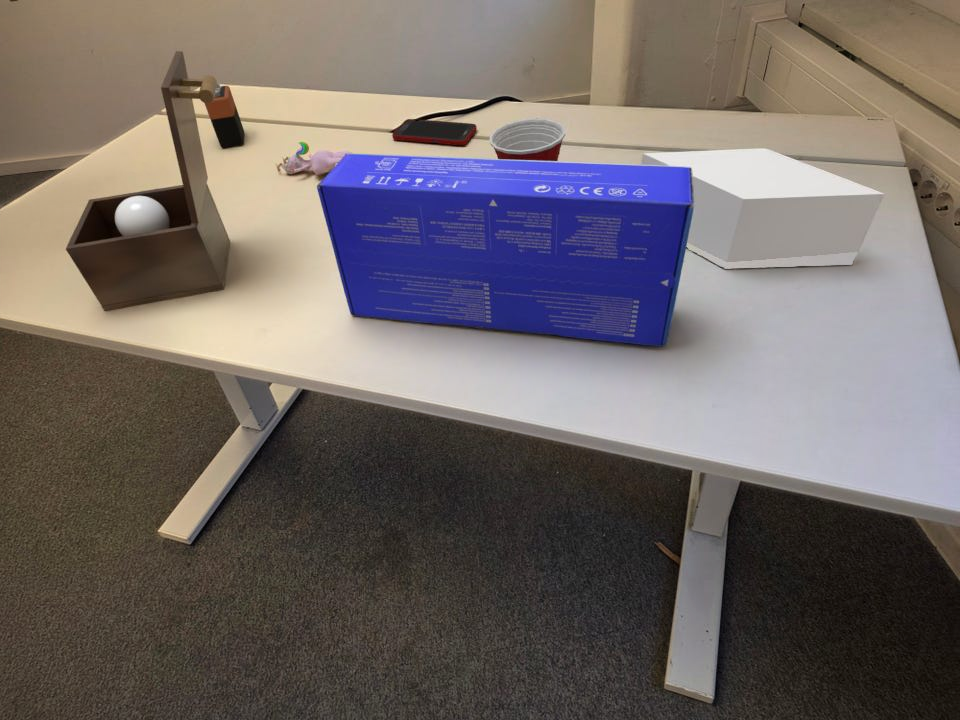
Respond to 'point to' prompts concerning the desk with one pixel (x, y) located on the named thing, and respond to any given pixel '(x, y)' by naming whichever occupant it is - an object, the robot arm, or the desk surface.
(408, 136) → the cell phone
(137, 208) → the lightbulb
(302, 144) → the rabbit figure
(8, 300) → the desk surface
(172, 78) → the chest lid
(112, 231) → the chest
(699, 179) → the white box
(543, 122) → the plastic cup
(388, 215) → the blue cardboard box
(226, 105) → the battery
